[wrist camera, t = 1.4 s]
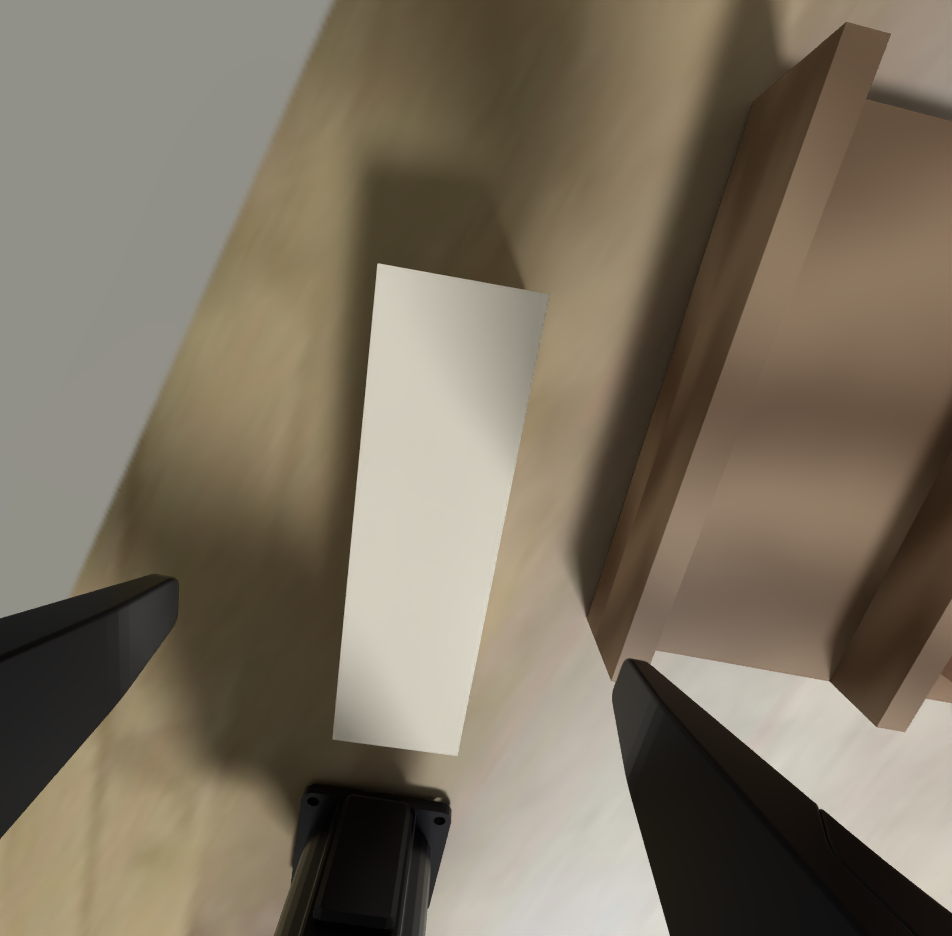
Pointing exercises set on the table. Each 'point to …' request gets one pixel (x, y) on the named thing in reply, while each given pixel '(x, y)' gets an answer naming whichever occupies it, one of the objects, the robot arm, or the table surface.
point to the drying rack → (807, 409)
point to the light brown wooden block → (948, 670)
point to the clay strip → (430, 500)
